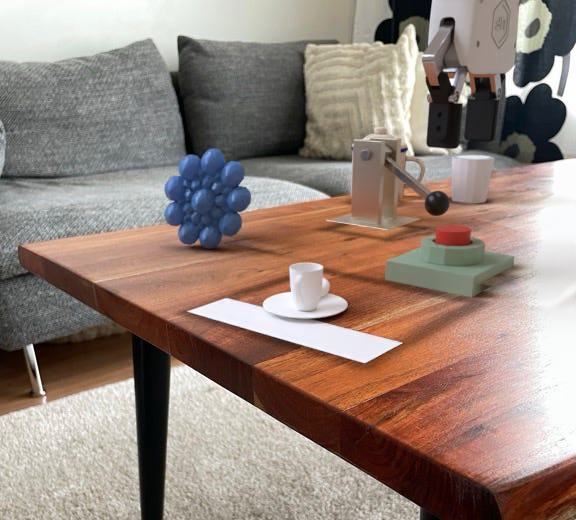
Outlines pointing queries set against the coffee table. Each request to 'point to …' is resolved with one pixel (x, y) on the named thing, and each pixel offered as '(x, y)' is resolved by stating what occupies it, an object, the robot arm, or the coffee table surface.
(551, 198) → the coffee table surface
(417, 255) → the green button base
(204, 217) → the blue beaded flower wheel
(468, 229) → the button
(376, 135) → the teacup with lid
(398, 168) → the switch lever
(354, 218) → the switch bracket
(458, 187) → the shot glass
